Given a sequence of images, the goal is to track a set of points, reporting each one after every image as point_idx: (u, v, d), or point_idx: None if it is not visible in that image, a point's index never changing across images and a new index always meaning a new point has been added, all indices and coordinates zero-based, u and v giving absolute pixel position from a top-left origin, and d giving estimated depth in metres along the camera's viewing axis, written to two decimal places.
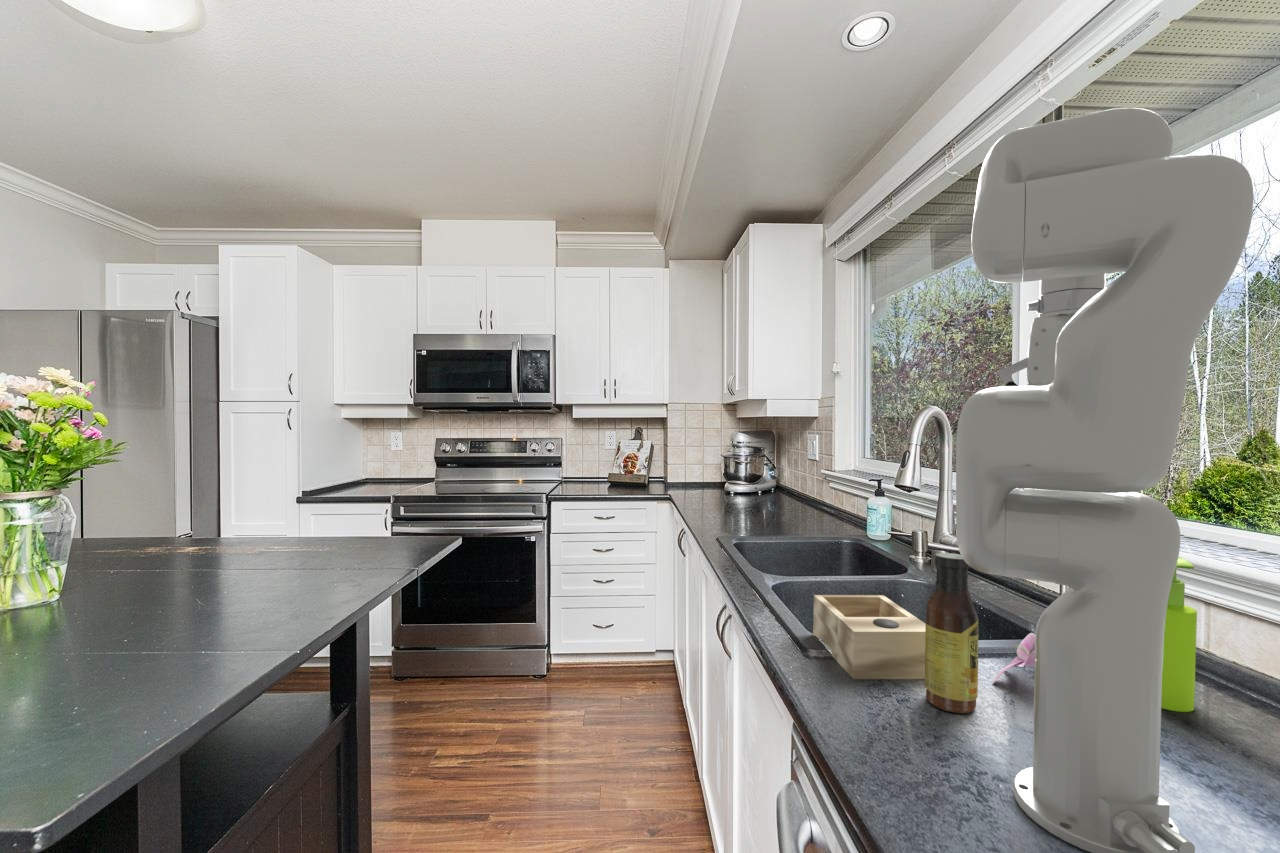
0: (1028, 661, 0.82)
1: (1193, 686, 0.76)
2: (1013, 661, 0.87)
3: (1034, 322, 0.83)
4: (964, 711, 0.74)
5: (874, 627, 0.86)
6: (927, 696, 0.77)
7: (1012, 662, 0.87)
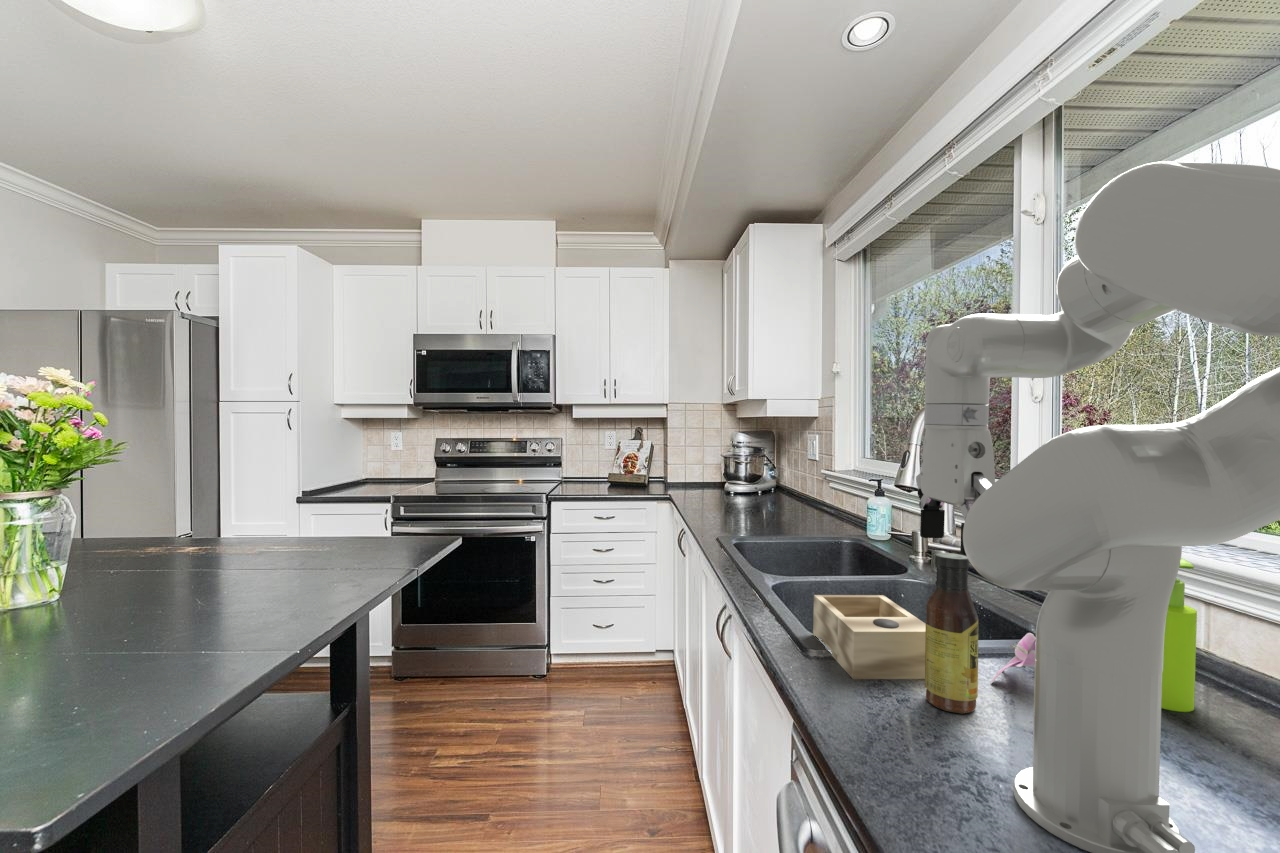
0: (1026, 661, 0.82)
1: (1193, 686, 0.76)
2: (1011, 661, 0.87)
3: (988, 435, 0.73)
4: (964, 711, 0.74)
5: (874, 627, 0.86)
6: (927, 696, 0.77)
7: (1010, 662, 0.87)
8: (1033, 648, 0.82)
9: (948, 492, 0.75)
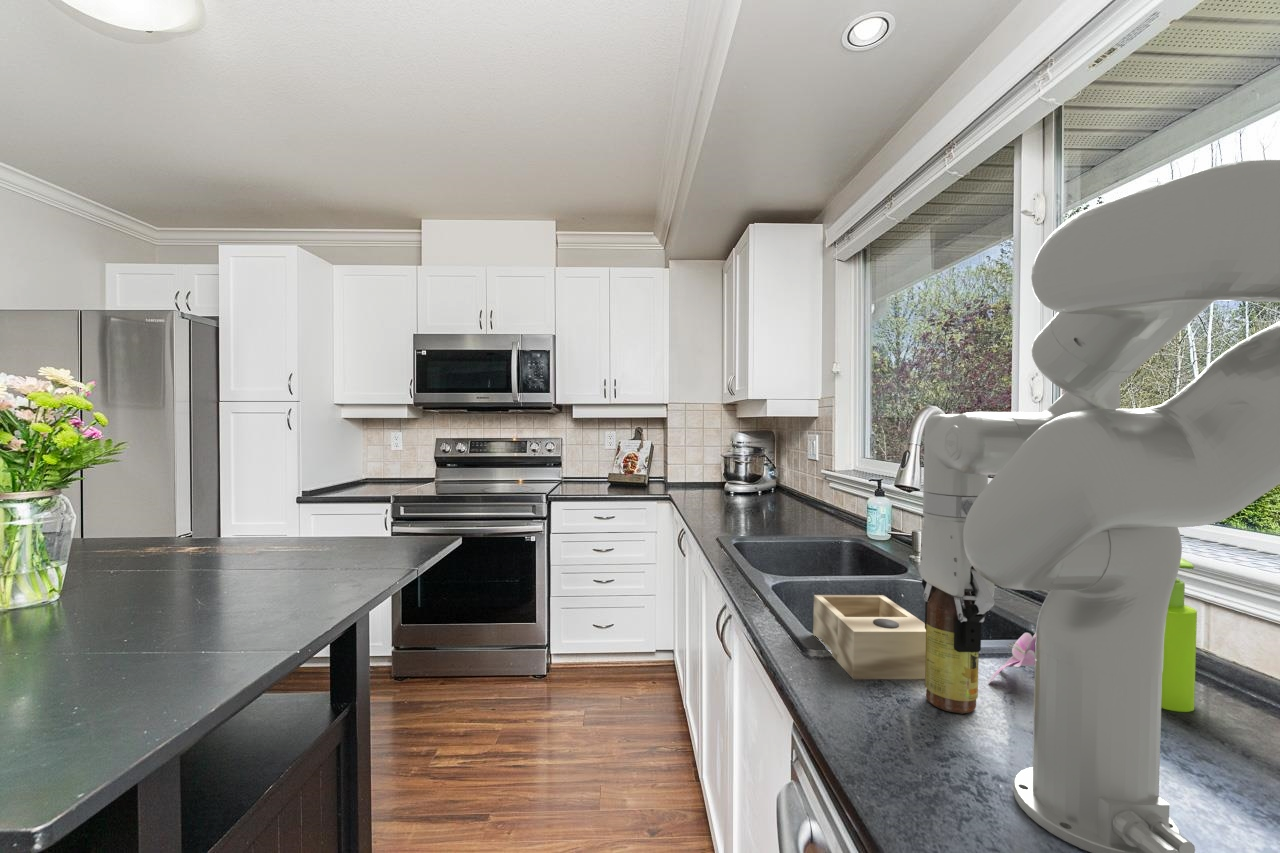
0: (1024, 661, 0.82)
1: (1193, 686, 0.76)
2: (1008, 661, 0.87)
3: None
4: (964, 711, 0.74)
5: (874, 627, 0.86)
6: (927, 696, 0.77)
7: (1007, 662, 0.87)
8: (1030, 648, 0.82)
9: (947, 583, 0.75)
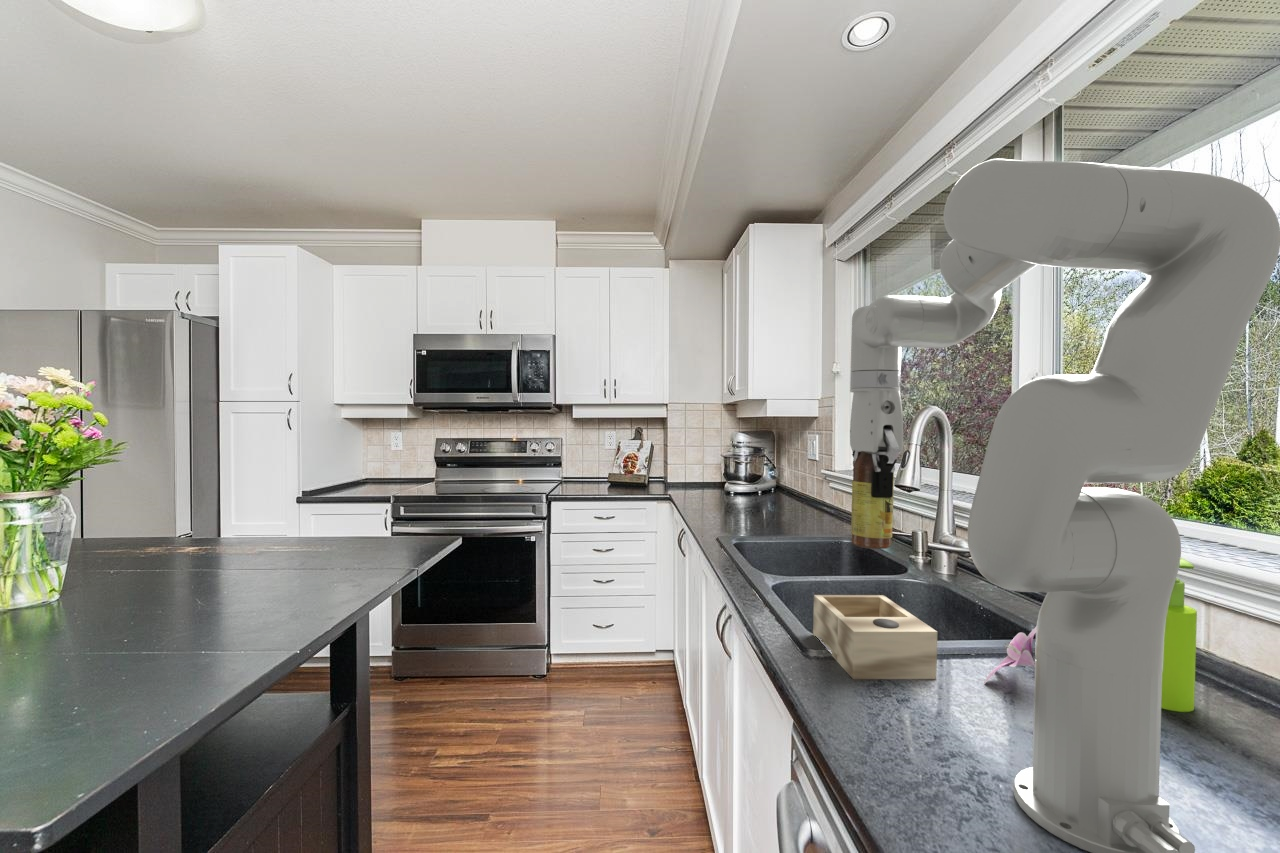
0: (1019, 661, 0.82)
1: (1193, 686, 0.76)
2: (1003, 661, 0.87)
3: (897, 395, 0.89)
4: (880, 547, 0.91)
5: (874, 627, 0.86)
6: (852, 539, 0.94)
7: (1002, 662, 0.87)
8: (1026, 648, 0.82)
9: (866, 443, 0.91)
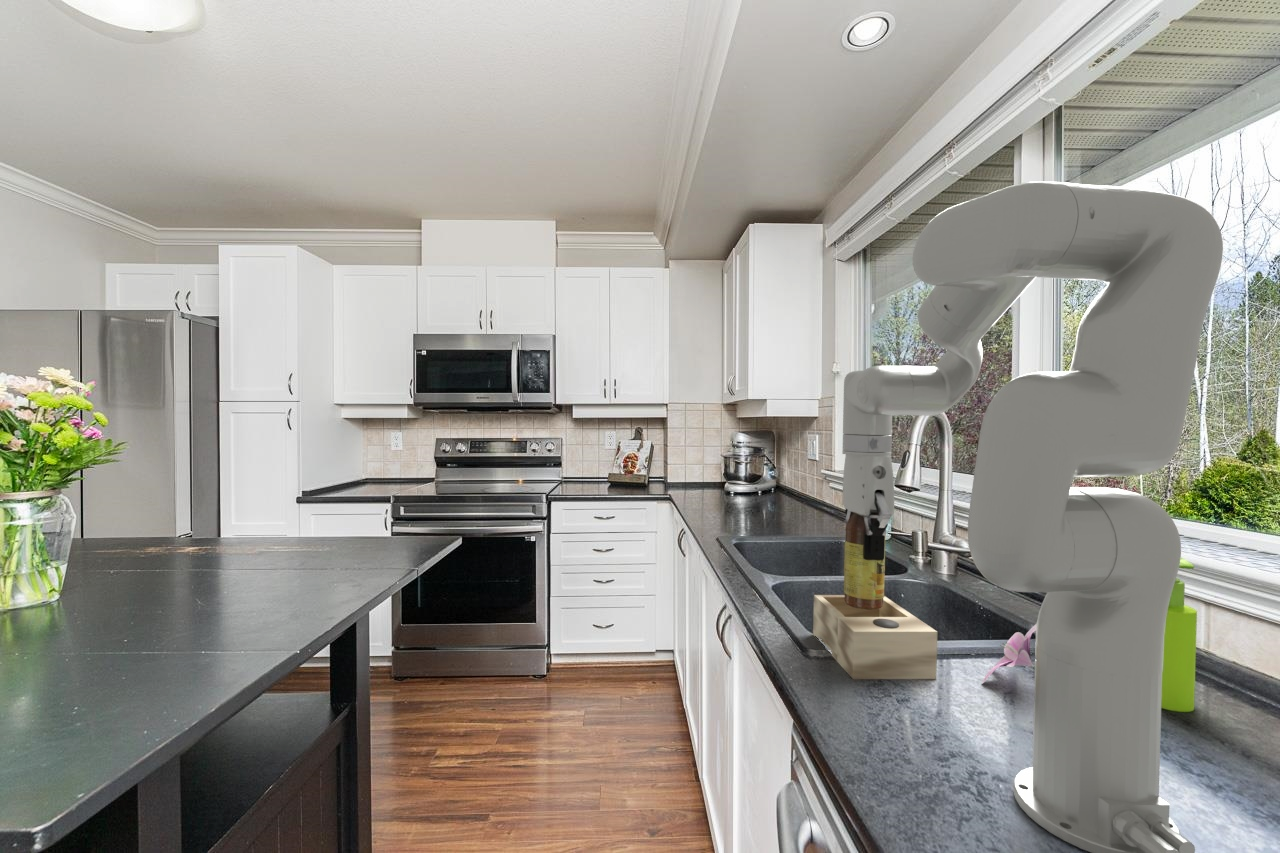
0: (1017, 661, 0.82)
1: (1193, 686, 0.76)
2: (1000, 661, 0.87)
3: (888, 460, 0.91)
4: (871, 607, 0.93)
5: (874, 627, 0.86)
6: (845, 599, 0.96)
7: (999, 662, 0.87)
8: (1023, 648, 0.82)
9: (858, 506, 0.93)
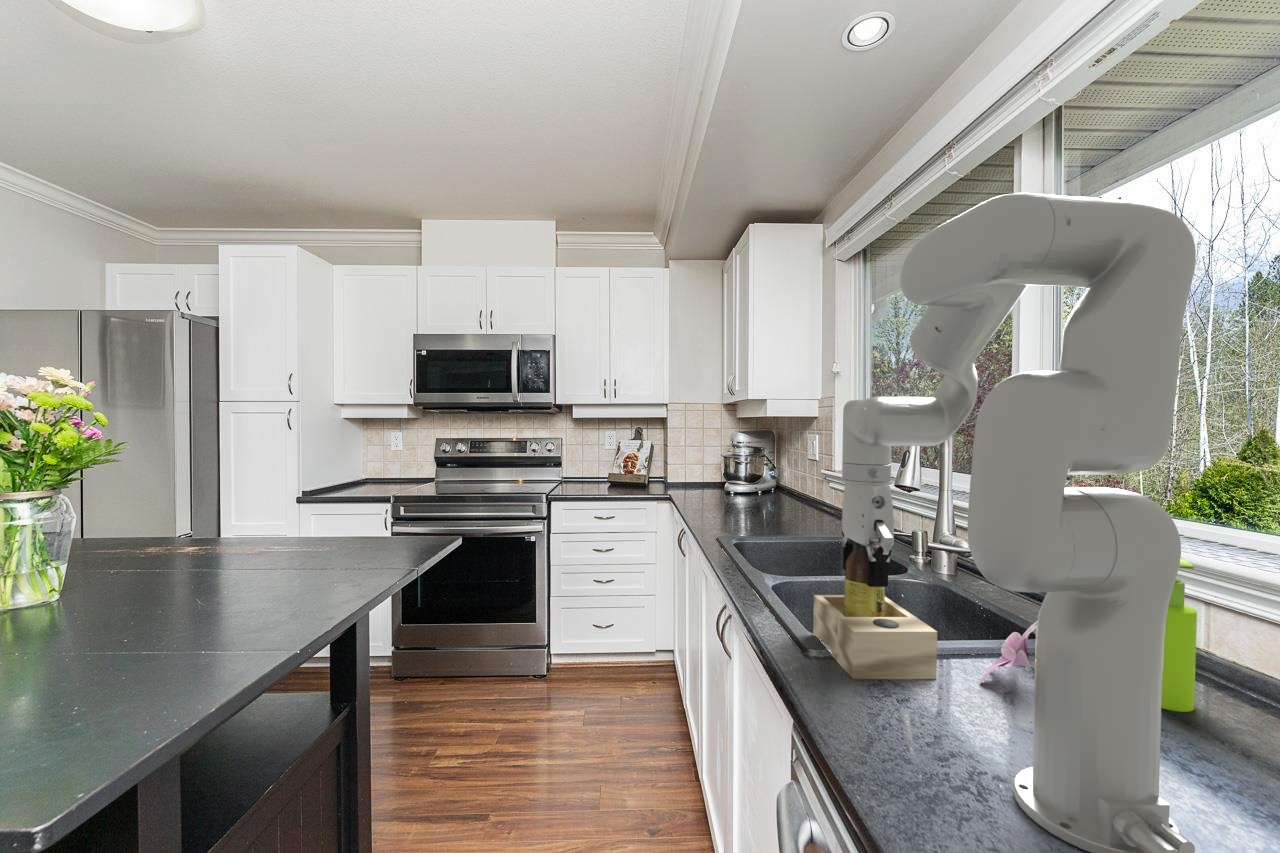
0: (1014, 661, 0.82)
1: (1193, 686, 0.76)
2: (998, 661, 0.87)
3: (888, 490, 0.91)
4: None
5: (874, 627, 0.86)
6: None
7: (997, 662, 0.87)
8: (1021, 648, 0.82)
9: (858, 535, 0.93)
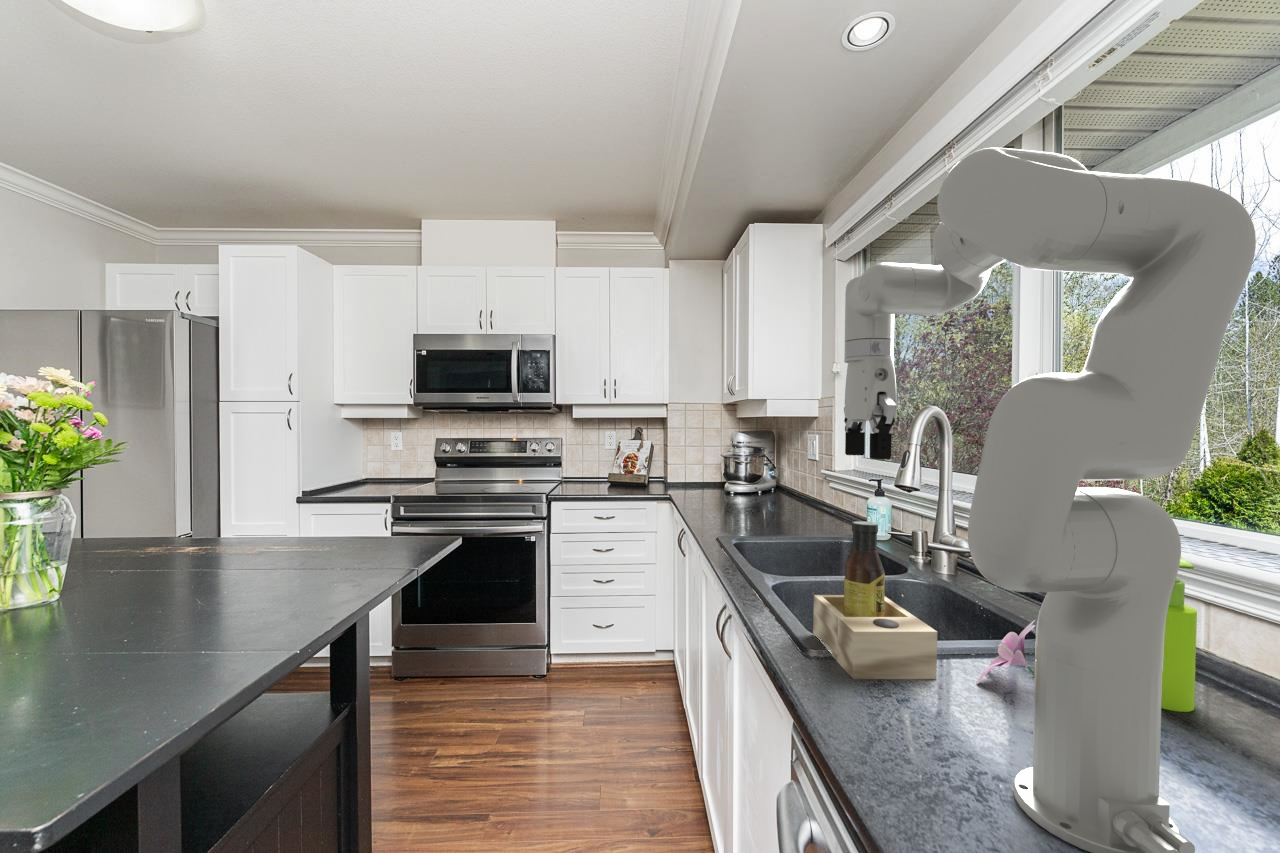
0: (1011, 661, 0.82)
1: (1193, 686, 0.76)
2: (995, 661, 0.87)
3: (890, 363, 0.91)
4: None
5: (874, 627, 0.86)
6: None
7: (994, 662, 0.87)
8: (1018, 648, 0.82)
9: (861, 411, 0.92)
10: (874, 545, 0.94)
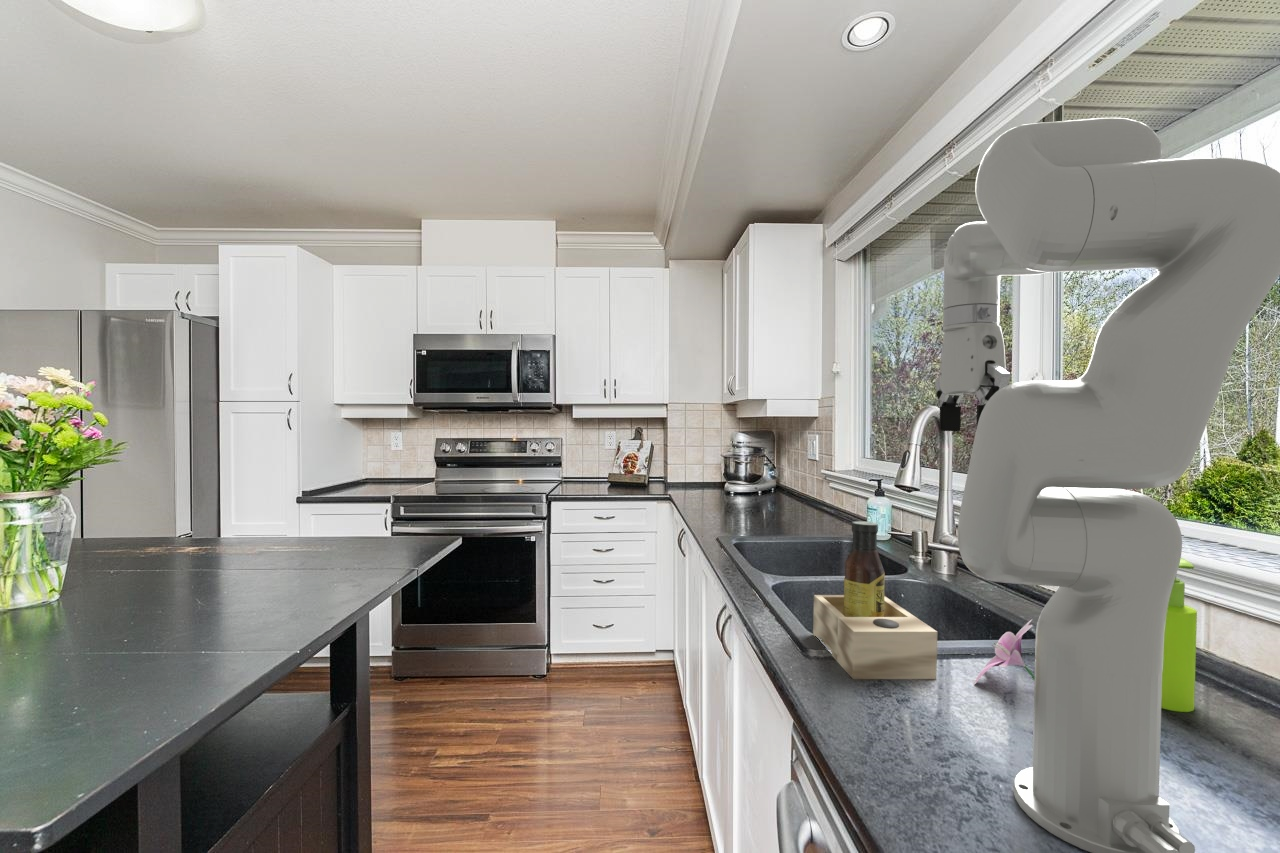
0: (1008, 661, 0.82)
1: (1193, 686, 0.76)
2: (991, 660, 0.87)
3: (999, 329, 0.85)
4: None
5: (874, 627, 0.86)
6: None
7: (990, 662, 0.87)
8: (1015, 648, 0.82)
9: (965, 381, 0.86)
10: (874, 545, 0.94)
